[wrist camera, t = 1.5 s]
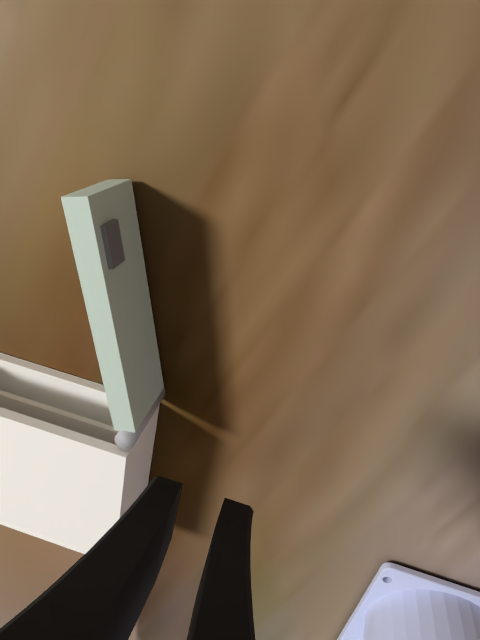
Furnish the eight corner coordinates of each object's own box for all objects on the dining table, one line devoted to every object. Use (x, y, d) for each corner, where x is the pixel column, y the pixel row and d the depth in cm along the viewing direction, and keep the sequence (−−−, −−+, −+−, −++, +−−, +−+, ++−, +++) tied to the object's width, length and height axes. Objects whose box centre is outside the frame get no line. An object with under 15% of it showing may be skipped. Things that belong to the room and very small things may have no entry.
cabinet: (145, 503, 27) (114, 564, 24) (-20, 448, 28) (-72, 498, 25) (159, 402, 23) (125, 457, 20) (-32, 342, 24) (-96, 384, 21)
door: (149, 397, 23) (115, 448, 20) (110, 178, 18) (57, 198, 15) (171, 399, 23) (140, 451, 19) (137, 177, 18) (90, 197, 15)
